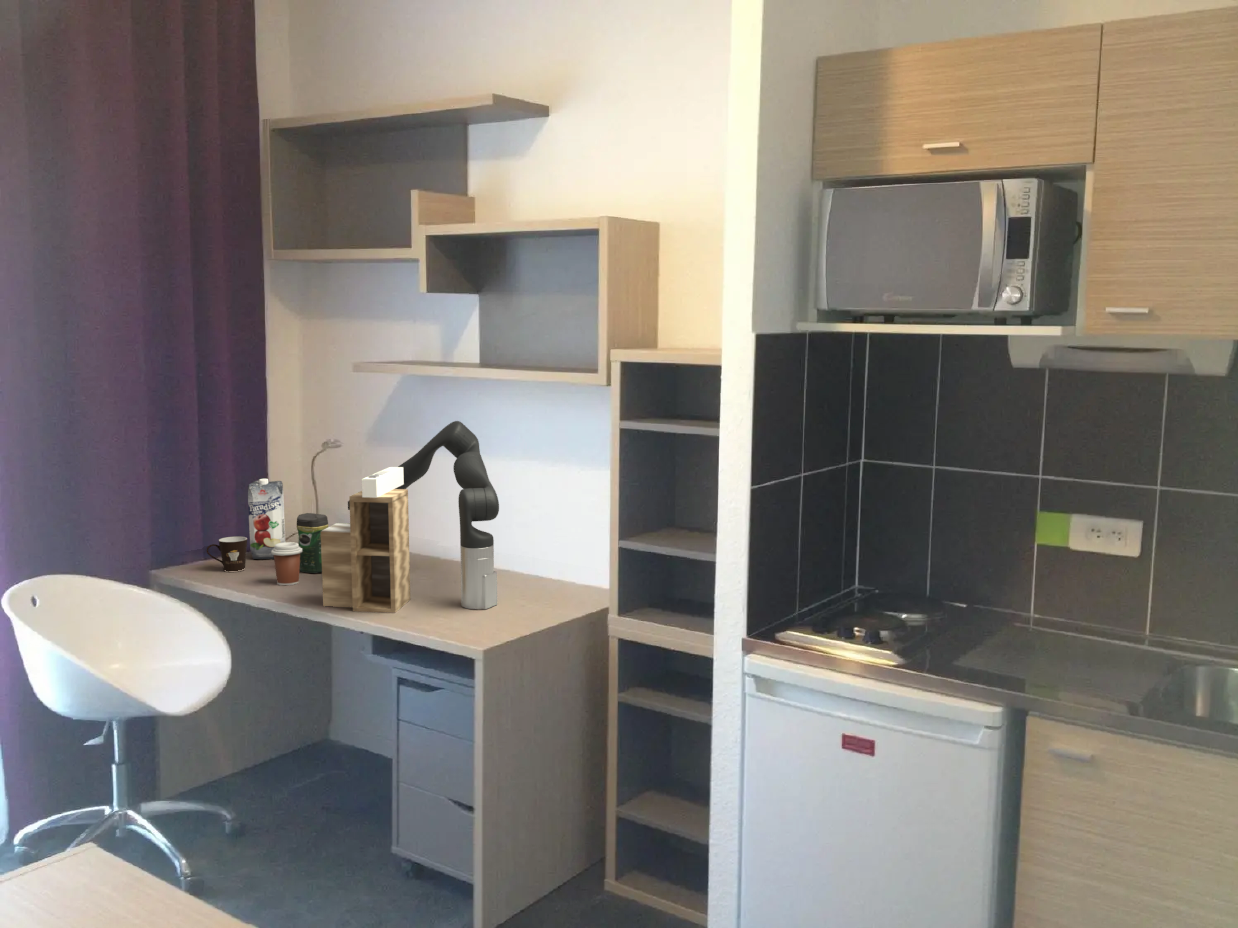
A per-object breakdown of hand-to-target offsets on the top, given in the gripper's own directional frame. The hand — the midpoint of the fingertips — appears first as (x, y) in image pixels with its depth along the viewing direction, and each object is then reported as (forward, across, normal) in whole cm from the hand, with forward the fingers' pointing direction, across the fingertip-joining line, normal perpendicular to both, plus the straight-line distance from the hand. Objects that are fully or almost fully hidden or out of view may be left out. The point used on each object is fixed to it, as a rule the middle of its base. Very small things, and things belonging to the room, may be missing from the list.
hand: (369, 508), depth 316 cm
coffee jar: (-28, -22, +26) cm, 44 cm away
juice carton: (-48, -42, +26) cm, 69 cm away
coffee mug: (-31, -50, +26) cm, 64 cm away
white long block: (+11, +6, -8) cm, 15 cm away
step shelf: (+14, +1, +24) cm, 28 cm away
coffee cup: (-12, -27, +26) cm, 39 cm away
